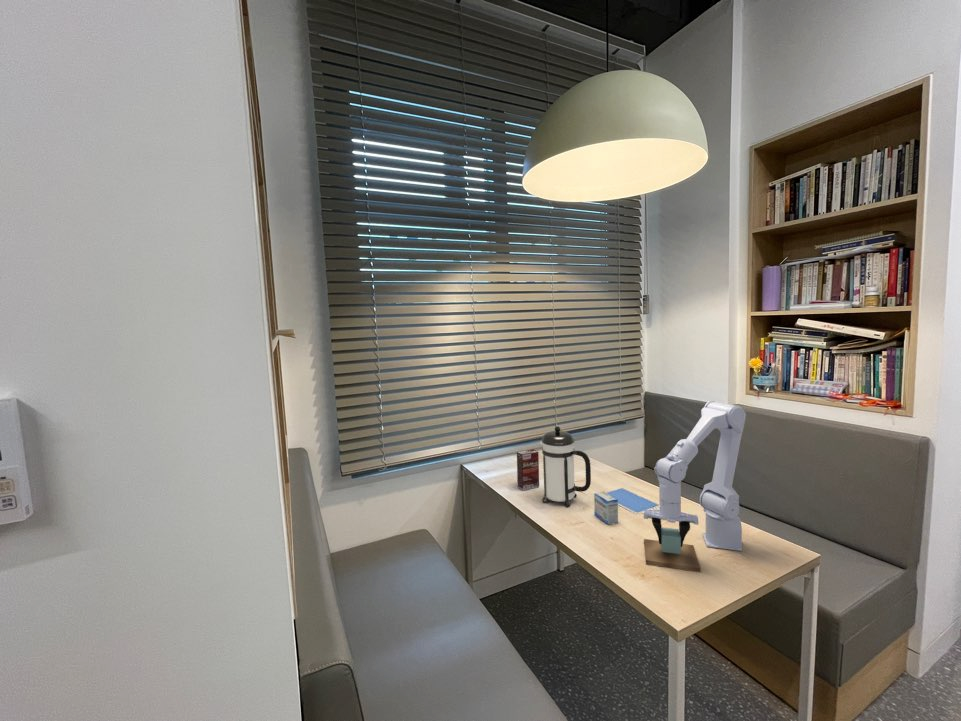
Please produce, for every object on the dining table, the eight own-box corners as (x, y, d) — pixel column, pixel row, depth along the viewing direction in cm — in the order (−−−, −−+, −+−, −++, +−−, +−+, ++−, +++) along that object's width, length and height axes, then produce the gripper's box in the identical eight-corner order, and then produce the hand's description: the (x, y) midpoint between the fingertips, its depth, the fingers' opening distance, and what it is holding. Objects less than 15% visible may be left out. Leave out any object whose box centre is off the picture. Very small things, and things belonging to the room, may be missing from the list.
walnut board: (693, 548, 123) (693, 545, 123) (700, 572, 111) (700, 567, 111) (643, 542, 127) (643, 538, 127) (645, 564, 116) (645, 560, 116)
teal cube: (678, 545, 121) (678, 529, 120) (680, 554, 116) (680, 537, 116) (660, 542, 122) (660, 527, 122) (661, 551, 118) (661, 535, 117)
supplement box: (522, 491, 170) (521, 455, 169) (517, 487, 175) (515, 451, 174) (540, 487, 174) (539, 451, 173) (534, 483, 178) (533, 448, 177)
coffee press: (550, 511, 151) (547, 433, 148) (535, 494, 167) (533, 423, 164) (592, 505, 155) (590, 429, 152) (574, 489, 170) (572, 420, 168)
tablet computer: (661, 508, 151) (661, 504, 151) (637, 516, 146) (637, 513, 145) (622, 490, 168) (622, 487, 168) (599, 497, 163) (599, 494, 163)
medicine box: (594, 515, 147) (593, 492, 146) (604, 513, 148) (603, 490, 147) (608, 525, 139) (607, 501, 138) (618, 522, 141) (618, 498, 140)
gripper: (644, 502, 117) (644, 547, 118) (700, 508, 112) (700, 554, 113) (642, 492, 123) (643, 535, 124) (695, 497, 118) (695, 541, 120)
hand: (670, 543), depth 119 cm, fingers closed on teal cube, 5 cm apart
